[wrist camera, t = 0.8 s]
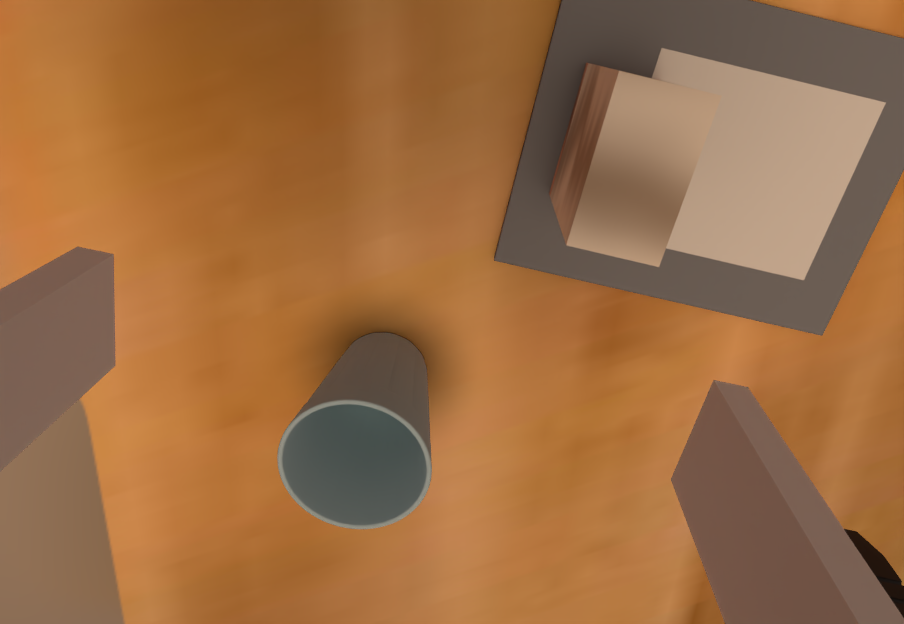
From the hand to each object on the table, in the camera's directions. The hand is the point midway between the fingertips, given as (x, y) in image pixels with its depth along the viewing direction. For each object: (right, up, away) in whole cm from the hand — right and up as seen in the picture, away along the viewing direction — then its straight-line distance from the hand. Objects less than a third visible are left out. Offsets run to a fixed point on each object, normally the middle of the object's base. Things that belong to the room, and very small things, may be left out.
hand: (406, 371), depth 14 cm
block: (+9, +11, +21) cm, 25 cm away
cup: (-3, -2, +28) cm, 28 cm away
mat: (+15, +10, +22) cm, 28 cm away
